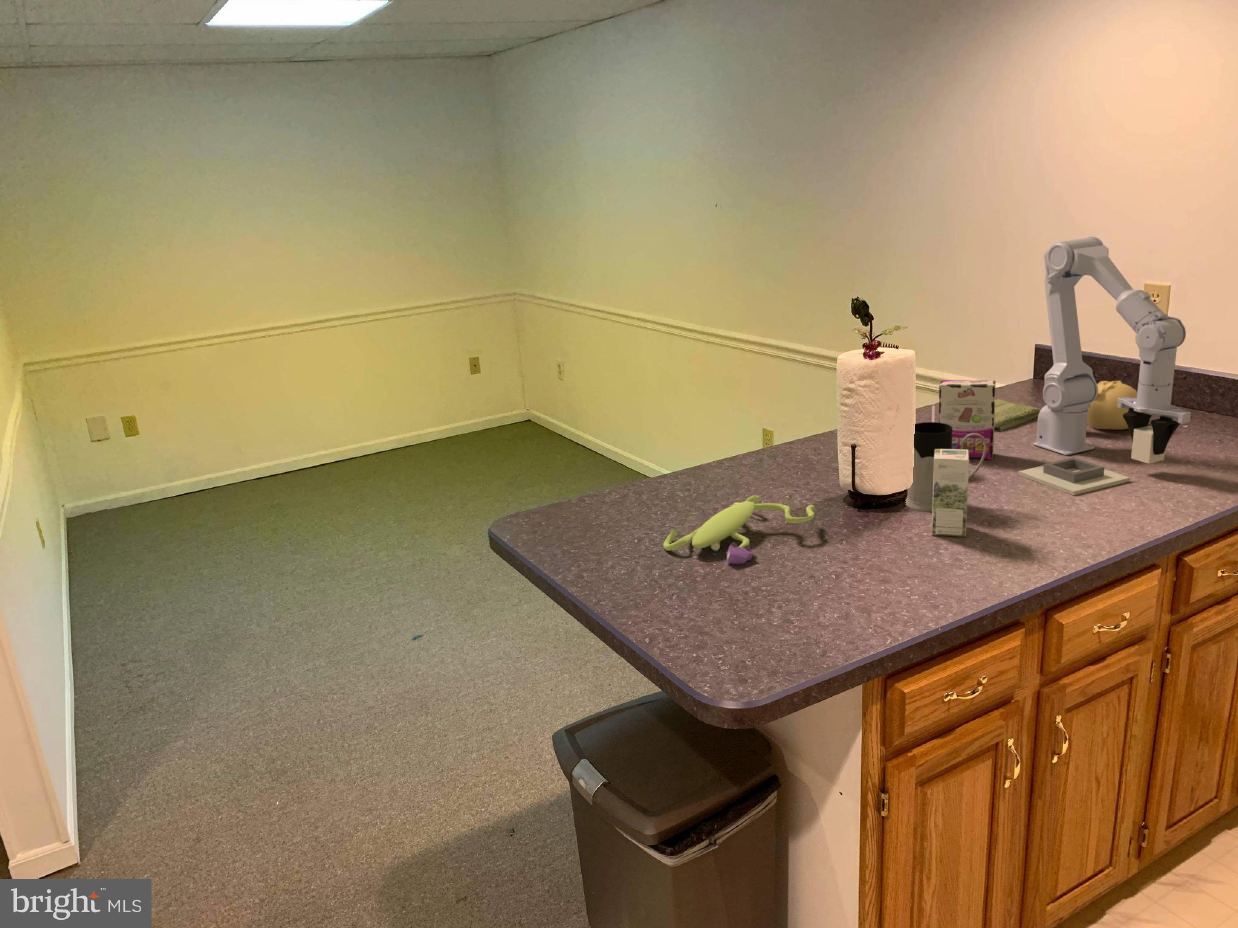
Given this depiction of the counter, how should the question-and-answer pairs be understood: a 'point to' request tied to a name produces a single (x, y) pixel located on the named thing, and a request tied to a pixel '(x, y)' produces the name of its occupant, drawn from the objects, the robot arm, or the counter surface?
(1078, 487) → the charging dock
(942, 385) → the candy bar box
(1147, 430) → the block
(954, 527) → the syrup box
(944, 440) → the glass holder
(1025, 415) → the washcloth
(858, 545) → the counter surface
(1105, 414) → the sculpture
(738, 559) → the figurine
